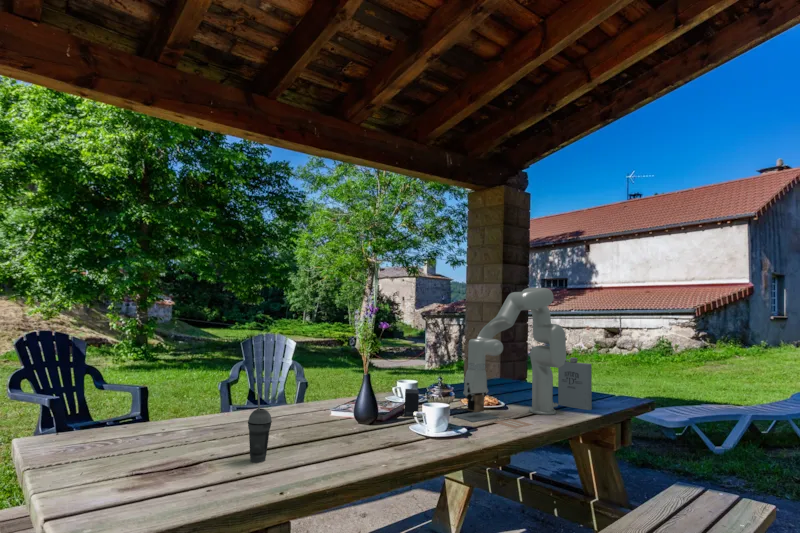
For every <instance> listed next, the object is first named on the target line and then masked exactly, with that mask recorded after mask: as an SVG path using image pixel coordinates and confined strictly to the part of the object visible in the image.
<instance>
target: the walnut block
mask: <svg viewBox="0 0 800 533" xmlns="http://www.w3.org/2000/svg"><path fill="white" fill-rule="evenodd" d="M473 401H474V410H470V409H468V408H467V411H470V412H472V413H473V412H482V413H483V412H485V399H484V395H482V394H475V395H474V399H473Z"/></svg>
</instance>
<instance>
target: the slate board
mask: <svg viewBox="0 0 800 533" xmlns="http://www.w3.org/2000/svg"><path fill="white" fill-rule="evenodd" d="M456 418H457V419H460V420H462V421H467V422H469V423H477V422H478V423H479V422H483V421H490V420H495V419H500V417H499V416H497V415H493V414H488V413H485V412H483V411H482V412H473V411H472V412H467V413H462V414H455V415H452V419H456Z"/></svg>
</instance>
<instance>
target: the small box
mask: <svg viewBox="0 0 800 533" xmlns="http://www.w3.org/2000/svg"><path fill="white" fill-rule="evenodd" d="M419 395H420V391H419V389H413V388H405V391H404V410H403V411H404V412H403V413H404V414H403V416H404V417H414V416H413V412H414V411H418V412H419V407H420V406H419V403H420V396H419Z"/></svg>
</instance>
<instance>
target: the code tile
mask: <svg viewBox="0 0 800 533" xmlns="http://www.w3.org/2000/svg"><path fill="white" fill-rule="evenodd" d="M493 423H494V424H497V425H498V424H499V425H501V426H505V427H509V428H512V429H519V428H524V427H525V428H526V427H530V426H534V424H533V423H529V422H526V421H521V420H517V419H515V418H510V419H503V420H499V421H498V420H497V421H493Z"/></svg>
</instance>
